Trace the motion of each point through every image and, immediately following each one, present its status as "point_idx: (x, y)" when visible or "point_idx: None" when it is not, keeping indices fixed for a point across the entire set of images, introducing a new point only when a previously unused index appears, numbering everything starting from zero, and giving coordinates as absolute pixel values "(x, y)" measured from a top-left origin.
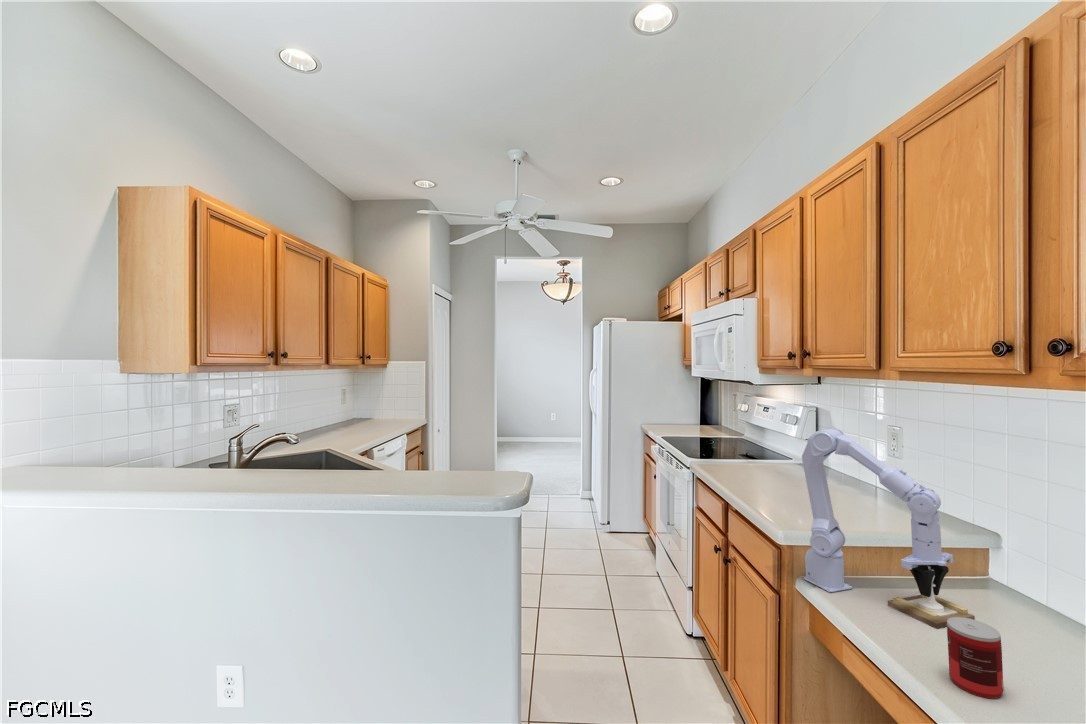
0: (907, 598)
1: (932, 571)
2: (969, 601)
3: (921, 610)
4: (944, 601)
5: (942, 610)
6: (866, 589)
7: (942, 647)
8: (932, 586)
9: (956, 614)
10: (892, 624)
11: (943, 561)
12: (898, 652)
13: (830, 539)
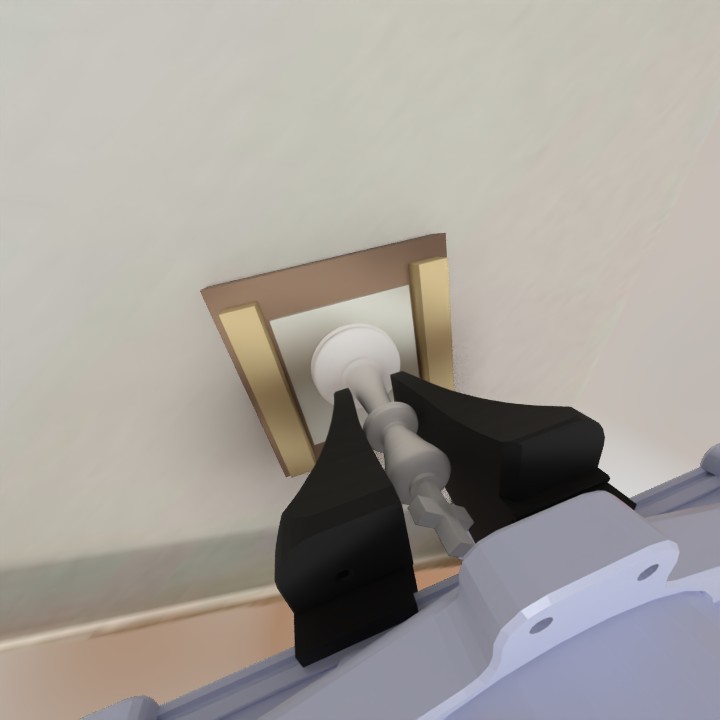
0: None
1: (543, 444)
2: (89, 462)
3: (450, 315)
4: (277, 396)
5: (339, 330)
6: None
7: (547, 75)
8: (399, 403)
9: (285, 310)
10: (542, 285)
11: (531, 643)
12: (704, 84)
13: None
